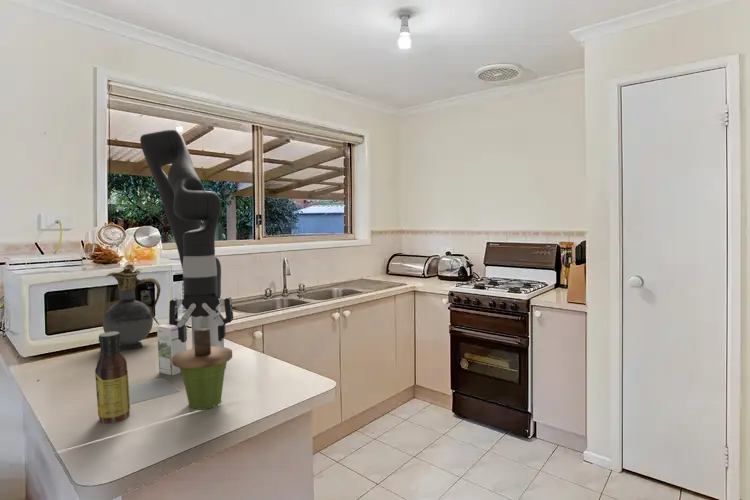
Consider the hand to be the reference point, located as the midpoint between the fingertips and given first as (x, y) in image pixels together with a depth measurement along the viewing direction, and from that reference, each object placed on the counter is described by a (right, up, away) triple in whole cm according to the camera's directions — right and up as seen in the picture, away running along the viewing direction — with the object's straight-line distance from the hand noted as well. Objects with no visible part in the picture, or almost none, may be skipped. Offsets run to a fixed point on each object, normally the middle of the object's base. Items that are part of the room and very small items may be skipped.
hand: (202, 340), depth 105 cm
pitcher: (-46, -13, +53) cm, 72 cm away
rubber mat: (-19, -16, +9) cm, 26 cm away
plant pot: (0, -16, +1) cm, 16 cm away
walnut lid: (0, -5, 0) cm, 4 cm away
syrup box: (-18, -15, +24) cm, 34 cm away
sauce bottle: (-17, -17, -7) cm, 25 cm away
